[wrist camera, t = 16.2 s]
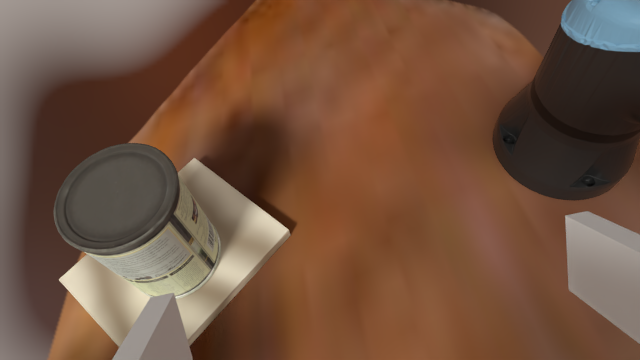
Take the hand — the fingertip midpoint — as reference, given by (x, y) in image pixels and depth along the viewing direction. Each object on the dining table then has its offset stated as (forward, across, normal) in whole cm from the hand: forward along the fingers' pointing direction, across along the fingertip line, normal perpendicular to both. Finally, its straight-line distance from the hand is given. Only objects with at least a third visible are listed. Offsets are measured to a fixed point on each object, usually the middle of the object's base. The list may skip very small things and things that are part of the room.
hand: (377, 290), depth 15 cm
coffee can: (+33, -17, -10) cm, 39 cm away
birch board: (+34, -18, -10) cm, 40 cm away
